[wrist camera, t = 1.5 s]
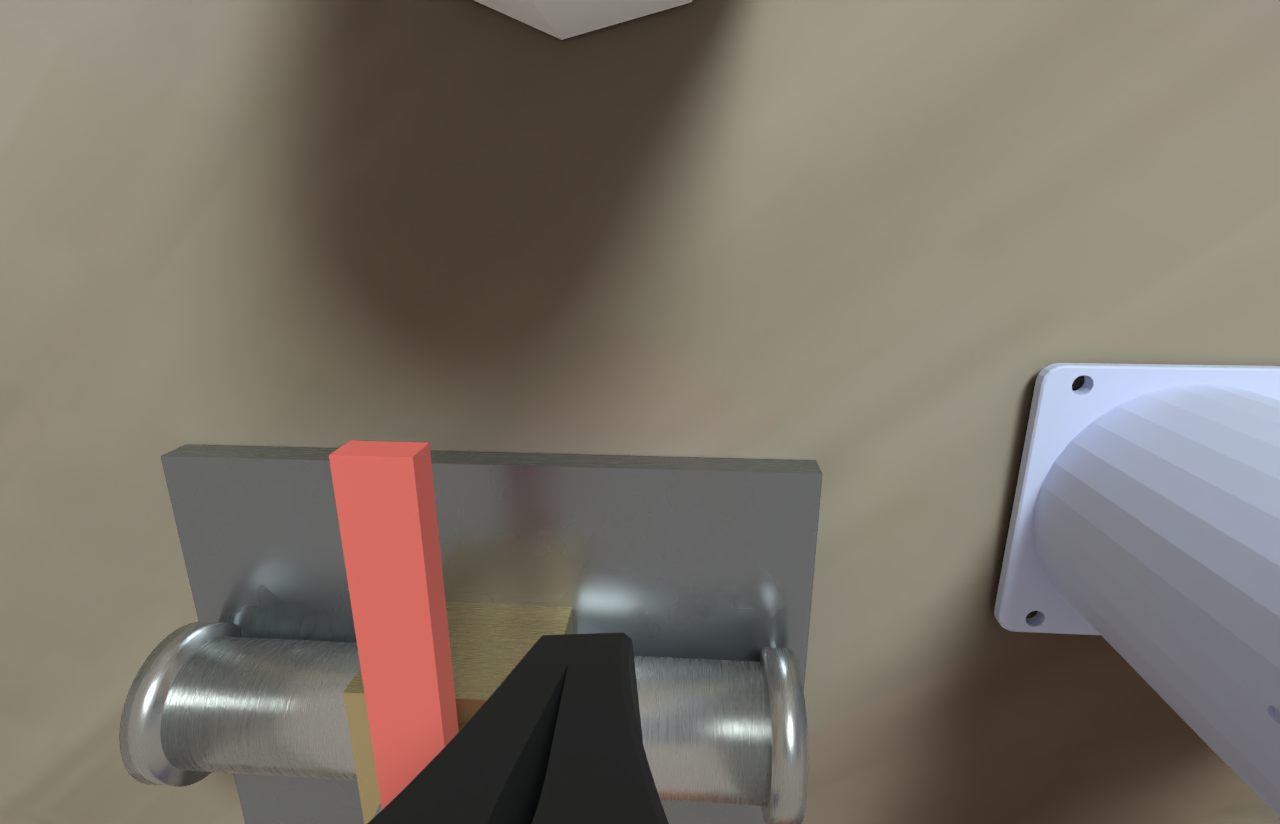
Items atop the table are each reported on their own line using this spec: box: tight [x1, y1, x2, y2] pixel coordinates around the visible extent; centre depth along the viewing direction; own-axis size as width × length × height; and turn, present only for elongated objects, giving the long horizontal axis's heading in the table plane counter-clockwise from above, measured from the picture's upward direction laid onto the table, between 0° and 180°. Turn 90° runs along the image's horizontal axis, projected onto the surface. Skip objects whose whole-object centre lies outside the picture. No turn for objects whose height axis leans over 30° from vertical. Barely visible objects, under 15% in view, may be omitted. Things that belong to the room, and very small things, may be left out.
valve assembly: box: [119, 445, 822, 824], centre depth 19 cm, size 19×14×6 cm
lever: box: [329, 441, 459, 819], centre depth 14 cm, size 11×3×1 cm, turn 0°
